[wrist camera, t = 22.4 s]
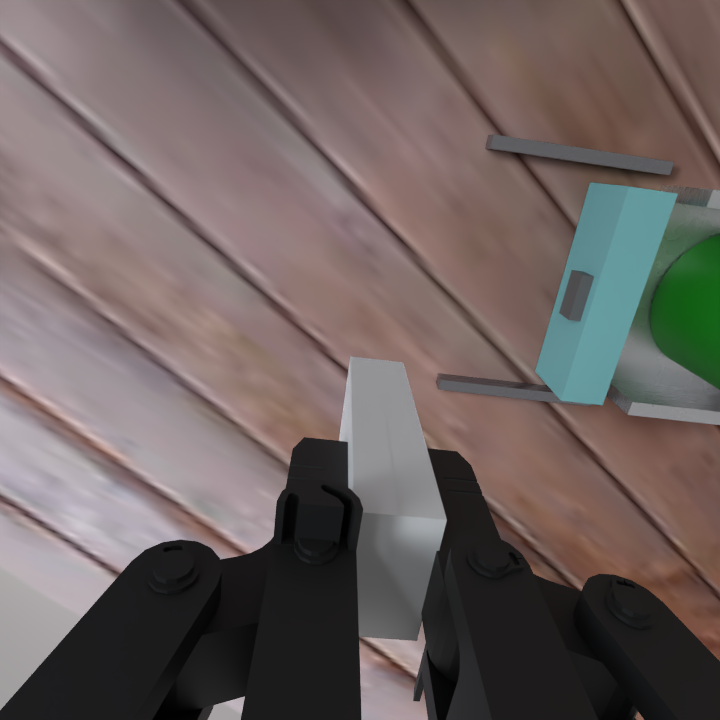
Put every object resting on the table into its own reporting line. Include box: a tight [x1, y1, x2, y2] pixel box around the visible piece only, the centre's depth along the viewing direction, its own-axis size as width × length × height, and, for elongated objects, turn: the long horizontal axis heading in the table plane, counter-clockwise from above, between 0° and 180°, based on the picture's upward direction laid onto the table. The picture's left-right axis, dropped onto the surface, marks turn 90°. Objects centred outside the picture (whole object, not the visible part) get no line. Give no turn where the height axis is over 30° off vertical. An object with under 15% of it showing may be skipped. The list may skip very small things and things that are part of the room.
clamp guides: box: [436, 135, 674, 406], centre depth 36 cm, size 18×12×1 cm
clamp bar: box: [535, 182, 678, 405], centre depth 34 cm, size 14×4×5 cm, turn 172°
